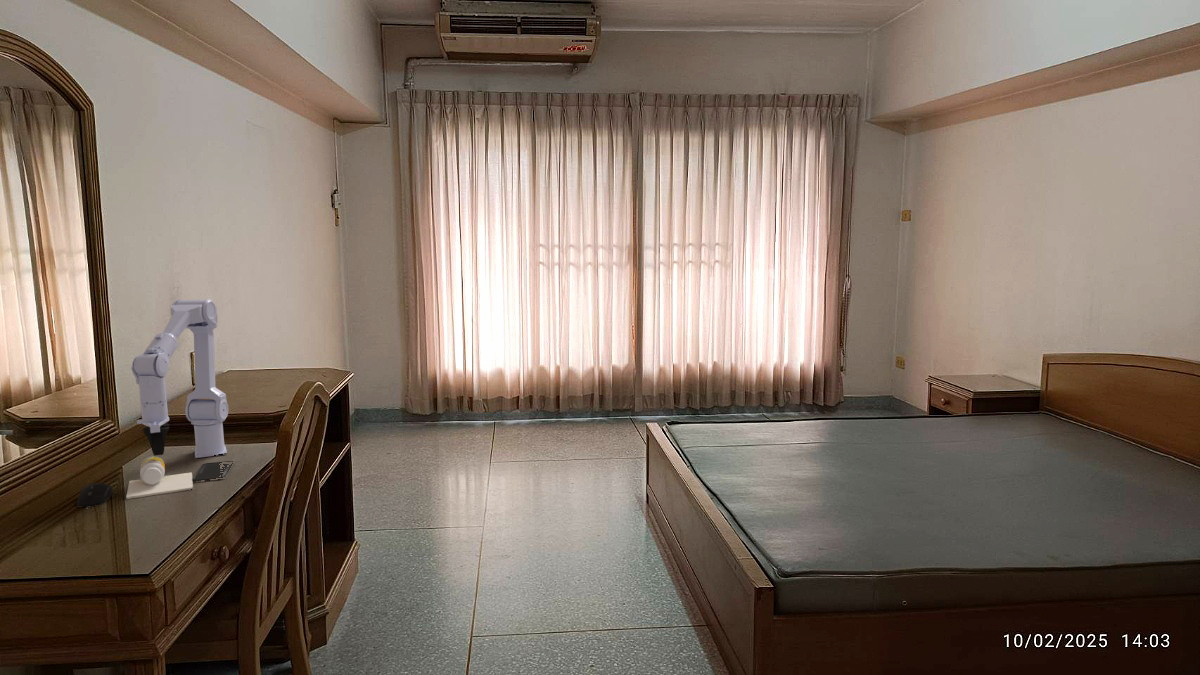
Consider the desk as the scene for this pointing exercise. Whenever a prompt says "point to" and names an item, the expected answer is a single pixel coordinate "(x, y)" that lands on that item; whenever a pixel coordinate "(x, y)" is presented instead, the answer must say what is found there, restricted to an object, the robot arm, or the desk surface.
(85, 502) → the gaming mouse
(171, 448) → the desk surface
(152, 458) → the supplement bottle
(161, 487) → the sticky note pad
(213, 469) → the phone
